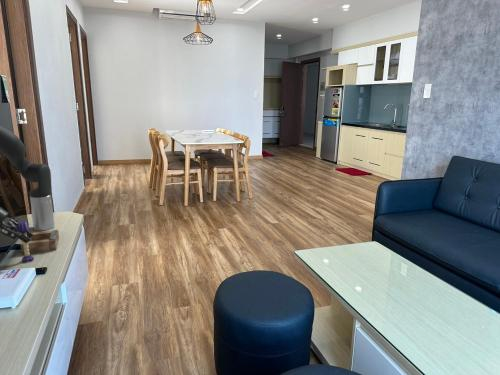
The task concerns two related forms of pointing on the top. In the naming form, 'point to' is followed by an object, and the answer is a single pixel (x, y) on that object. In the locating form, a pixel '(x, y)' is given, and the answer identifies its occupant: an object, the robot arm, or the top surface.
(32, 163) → the robot arm
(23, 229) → the toy lamp
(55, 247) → the walnut jig
